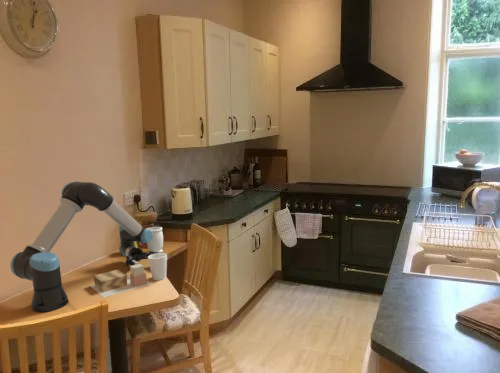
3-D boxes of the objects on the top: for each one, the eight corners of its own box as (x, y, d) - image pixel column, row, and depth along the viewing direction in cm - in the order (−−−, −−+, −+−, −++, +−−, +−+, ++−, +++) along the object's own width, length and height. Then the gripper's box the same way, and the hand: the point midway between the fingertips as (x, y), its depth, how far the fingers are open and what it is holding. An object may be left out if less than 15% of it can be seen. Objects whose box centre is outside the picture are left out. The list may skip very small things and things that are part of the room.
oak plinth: (102, 292, 205) (101, 281, 205) (94, 285, 215) (93, 275, 214) (127, 285, 212) (126, 275, 212) (118, 278, 222) (117, 269, 221)
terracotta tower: (135, 286, 210) (133, 268, 208) (130, 283, 214) (128, 266, 213) (146, 283, 213) (145, 265, 212) (142, 280, 218) (140, 263, 216)
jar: (160, 254, 264) (158, 230, 262) (144, 254, 266) (142, 230, 264) (167, 249, 274) (165, 226, 272) (151, 249, 276) (149, 226, 274)
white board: (103, 300, 199) (103, 297, 199) (90, 288, 215) (90, 285, 215) (152, 286, 213) (152, 283, 213) (136, 276, 229) (136, 273, 229)
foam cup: (146, 283, 217) (144, 258, 215) (155, 276, 226) (153, 252, 224) (163, 284, 215) (161, 259, 213) (172, 277, 223) (170, 253, 221)
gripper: (155, 255, 252) (172, 263, 235) (113, 265, 237) (128, 275, 220) (154, 242, 251) (171, 250, 234) (112, 252, 236) (126, 261, 219)
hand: (150, 262), depth 227 cm, fingers open, 13 cm apart
